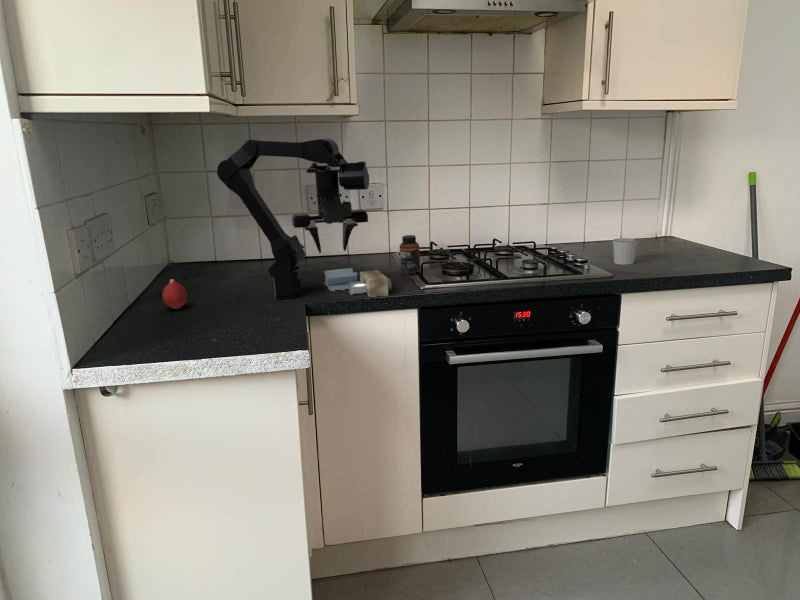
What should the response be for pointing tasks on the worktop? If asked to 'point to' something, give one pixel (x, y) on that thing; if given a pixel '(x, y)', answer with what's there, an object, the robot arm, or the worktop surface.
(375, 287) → the beam
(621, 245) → the grey cup
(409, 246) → the supplement bottle
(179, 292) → the onion
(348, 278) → the v block
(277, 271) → the robot arm
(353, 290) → the axle
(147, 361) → the worktop surface
